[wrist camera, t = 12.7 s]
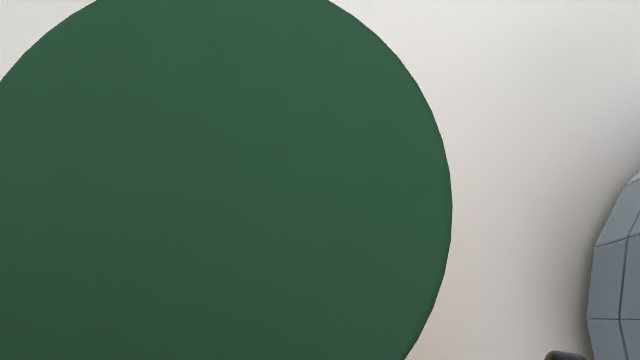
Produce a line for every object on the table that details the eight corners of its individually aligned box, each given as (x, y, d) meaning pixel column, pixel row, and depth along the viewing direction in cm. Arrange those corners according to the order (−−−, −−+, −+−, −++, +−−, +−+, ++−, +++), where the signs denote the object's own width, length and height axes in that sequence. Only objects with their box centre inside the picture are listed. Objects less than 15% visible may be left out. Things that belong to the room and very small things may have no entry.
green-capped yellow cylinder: (404, 363, 16) (494, 452, 6) (202, 382, 17) (-72, 502, 6) (380, 165, 18) (416, -58, 7) (193, 186, 18) (-44, -3, 7)
